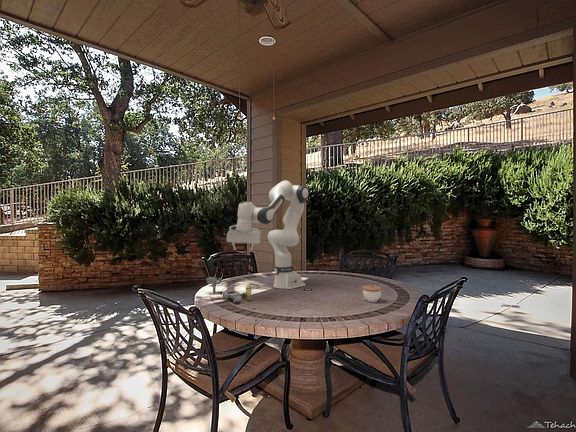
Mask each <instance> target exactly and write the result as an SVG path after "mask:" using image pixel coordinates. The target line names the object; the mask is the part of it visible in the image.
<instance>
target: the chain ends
mask: <svg viewBox="0 0 576 432" xmlns="http://www.w3.org/2000/svg"><path fill="white" fill-rule="evenodd" d="M222 299H223V300H224V301H226V302H232V303H233V304H234V305H239V304H241V301H242V300H243V299H246V291H244V292H242V293H240V292H238V291H237V290H234V289H233V290H225V291H222Z"/></svg>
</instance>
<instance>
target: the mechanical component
mask: <svg viewBox="0 0 576 432" xmlns="http://www.w3.org/2000/svg"><path fill="white" fill-rule="evenodd" d="M205 280H206V284H207V285H211V287H212V294H213V295H214V294H216V287H217V285H220V284H221V283H222V281H223V279H222V278H221V277H219V278H217V277H213V276H212V277H211V276H208V277H206V278H205Z"/></svg>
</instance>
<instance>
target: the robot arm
mask: <svg viewBox="0 0 576 432" xmlns="http://www.w3.org/2000/svg"><path fill="white" fill-rule="evenodd" d="M309 194H310V192H309V188H308V187H307V186H306V185H298V184H297V185H296V184H294V185H292V183H291V182H290V181H289V180H282V181H280V182H278V183H277V184H276V185H275V186H273V187H272V188H271V189H270V190H269V192H268V197H269V198H268V199H269V200H270V202H271V203H270V204H269V205H268V206H267V207H257V206H256V205H254V204H253V203H252V201H249V200H248V201H247V200H245V201H241V202H240V203H239V204H238V207H237V208H238V209H237V220H236V221H237V223H236V224H233V225H231V226H229V227H228V228H229V229H228V231H227V234H226V242H227V243H231V245H232V247H233V251H237V249H238V248H237V247H238V246H237V247H236V246H235V244H236V243H237V244H238V243H241V244H251V247H249V248H248V249H249V250H248V251H249V252H252V251H253V247H254V246H255V244H256V245H259V244H260V243H261V235H262V230H261V229H260V228H254V227H253V224H252V223H255V224H263V225H268V224H271V223H272V222H273V220H274V217H275V215H276V214H277V213H278V211H279V210H280V209H281V207H282V206H283V205H284V203H285V201H290V204H289V206H288V207H287V209H286V211H285V214H284V215H283V218H282V223H283V225H284V228H283V229H273V230H269V232H268V233H267V240H268V241H267V242H268V243H269V244H270V245H271V246H272V249H273V253H274V260H275V261H274V264H275V265H274V281H273V285H272V287H273V288H275V289H276V288H277V289H286V290H292V289H296V288H300V287H301V288H302V287H305V286H306V283H305V282H304V281H303V279H302V276H301V275H300V274H298V273H297V272H296V271H294V270H296V269H297V267H296V266H294V265H292V254H291V252H290V251H289V250H288V248H287V247H295V246H297V245H298V244H299V242H300V236H299V235H300V234H298V227H299V226H298V225H299V223H300V220H301V218H302V216H303V212H304V209H305V202H307V200H308V197H309Z"/></svg>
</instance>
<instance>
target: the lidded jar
mask: <svg viewBox="0 0 576 432" xmlns="http://www.w3.org/2000/svg"><path fill="white" fill-rule="evenodd" d="M362 295H363V297H364V299H365V300H366V301H367V302H369V303H377V302H378V301H379V300H380V299H381V296H382V287H381V286H379V285H374V284H371V285H369V284H368V285H364V286H362Z"/></svg>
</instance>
